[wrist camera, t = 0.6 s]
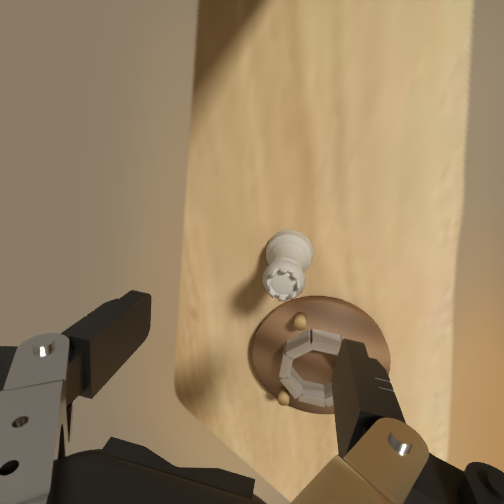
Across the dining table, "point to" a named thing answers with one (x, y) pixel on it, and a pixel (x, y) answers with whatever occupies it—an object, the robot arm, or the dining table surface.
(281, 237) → the rook chess piece
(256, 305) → the dining table surface
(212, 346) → the dining table surface
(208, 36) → the dining table surface
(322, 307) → the carrier disc
